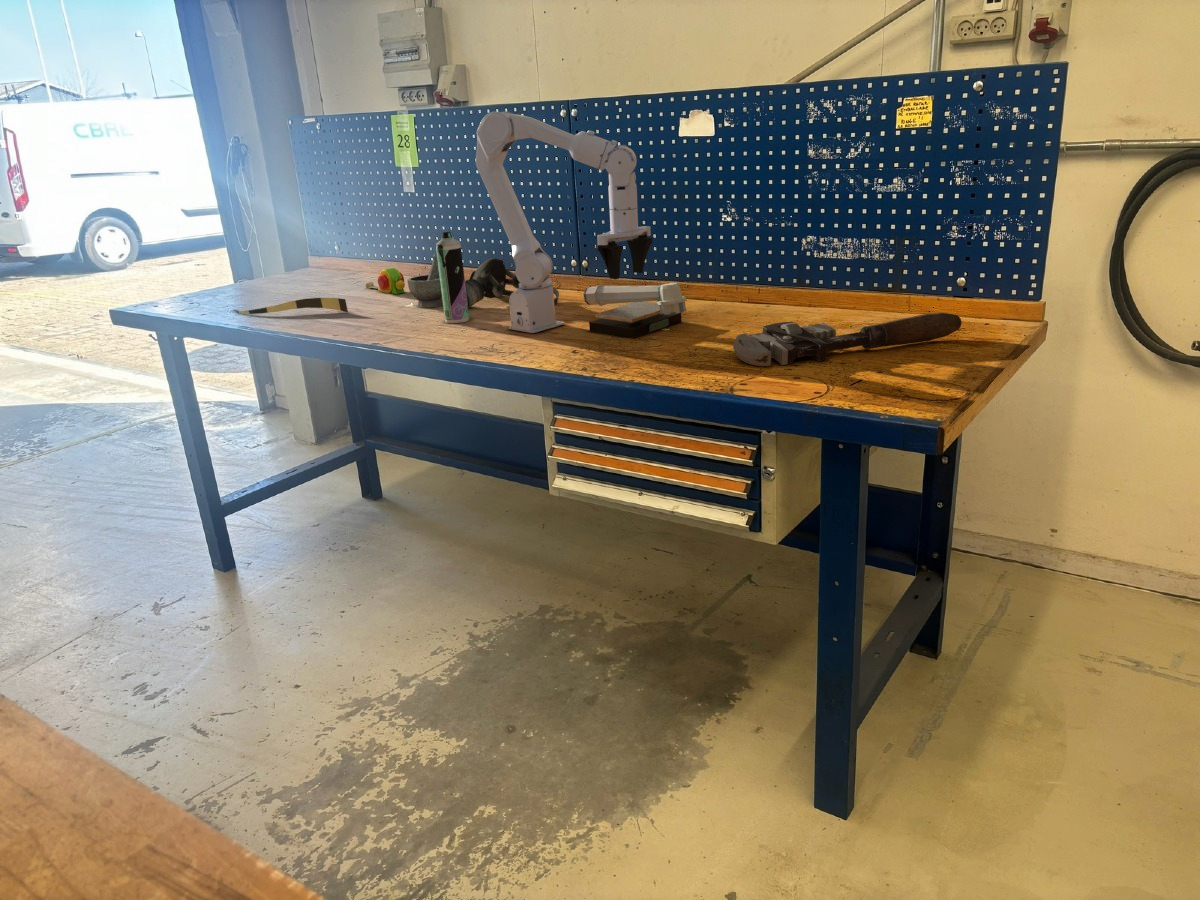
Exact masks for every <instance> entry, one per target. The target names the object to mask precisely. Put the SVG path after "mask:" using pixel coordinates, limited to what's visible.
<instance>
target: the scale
mask: <svg viewBox="0 0 1200 900" xmlns="http://www.w3.org/2000/svg"><path fill="white" fill-rule="evenodd" d="M681 322H682V312H681V313H676V312H671V314H666V315H664V313H663V314H658V315H655V316H652V317H649V318H645V319H642V320H639V321H636V322H633V323H630V322H623V321H616V320H609V319H602V318H597V319H595V320H592V321H589V322H588V325H589V326H588V327H589V332H591V333H598V334H605V335H611V336H617V337H624V338H629V339H634V338H638V337H641V336H645V335H647V334H650V333H653V332H656V331H658V330H662V329H665V328H668V327H670V326H673V325H676V324H679V323H681Z"/></svg>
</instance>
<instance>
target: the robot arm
mask: <svg viewBox="0 0 1200 900" xmlns="http://www.w3.org/2000/svg"><path fill="white" fill-rule="evenodd" d="M595 134H596V132H595V131H593V130H591V129H589V130H587V131H584V130H582V131H579V132H578V133H576V134H572V133H571V132H567V131H565V130H562V129H560V128H558V127H555V126H552V125H550V124H548V123H546V122H543V121H541V120H539V119H536V118H534V117H531V116H527V115H522V114H517V113H516V114H514V113H512V112H511V111H501V112H500V111H491V112H488V113H487V114H485V115H484V116H483V118H482V119H481V121H480V123H479V125H478V127H477V129H476V138H477V142H476V152H475V153H476V154H475V166H476V169H477V171H478V173H479V176H480V178H481V180H482V182H483V184H484V187H485V189H486V191H487V193H488V196H489V198H490V200H491V202H492V205H493V207H494V209H495V212H496V214H497V217H498V219H499V221H500V224H501V225H502V227H503V230H504V232H505V234H506V236H507V239H508V241H509V243H510V246H511V250H512V252H511V253H512V259H513V262H514V264H515V275H516V277H517V279H518V281H519V282H520V283H519V288H517V290H515V291H514V292H513V293H512V294H511V295H510V296H509V300H508V305H509V314H510V315H509V316H510V324H511V326H509V327H508V329H509V330H512V331H517V332H524V333H529V334H530V333H531V334H536V333H539V332H543V331H547V330H549V329H553V328H557V327H559V326H563V325H565V321H560V320H556V308H555V304H554V299H555V296H554V295H555V294H554V293H553V287H554V283H553V281H552V279H551V278H550V275H551V274H552V271H553V269H554V268H553V267H554V263H553V261H552V258H551V257H550V255H549V254H548V253H547V252H545V251H544V249H543V248H542V246H541V244H540V242H539V241H538V240H537V238H536V237H535V236H534V234H533V231H532V228H531V227H530V224H529V222H528V220H527V218H526V214H525V213H524V211H523V207H522V206H521V203H520V202H519V199H518V197H517V194H516V192H515V189H514V188H513V185H512V183H511V181H510V179H509V176H508V174H507V171H506V170H505V167H504V161H505V160H506V157H507V155H508V152H509V150H510V148H512V146H513V145H514V144H515V143H516V142H517V140H525V139H533V140H536V141H540V142H542V143H545V144H547V145H551V146H555V147H558V148H561V149H564V150H566V151H568V152H569V154H570V157H571V158H572V159H573V160H574V161H576V162H579V163H581V164H583V165H587V166H589V167H592V168H595V169H598V170H599V171H604V170H606V171H607V173H608V184H609V185H608V205H609V223H610V224H609V227H610V228H609V229H610V230H609V231H607V232H604V233H602V234H597V235H596V237H597V239H596V240H597V244H596V249H597V251H598V253H599V254H600V256H601V258H602V260H603V262H604V264H605V267H606V270H607V274H608V277H609V280H610V279H611V280H620V275H621V257H622V253H623V249H624V245H618V243H619V242H625V241H626V243H627V244H628V248H629V251H630V258H631V266H632V272H633V273H634V274H643V272H644V267H645V265H646V264H645V263H646V258H647V255H648V253H649V250H650V248H651V246H652V244H653V237H651V235H652V234H651V233H652V232H651V230H652V229H651V226H650V225H649V226H648V225H647V226H646V225H642V226H639V216H638V215H639V214H638V213H639V211H638V186H637V183H636V181H637V175H636V172H635V171H634V170H635V169H636V167H637V162H638V159H637V155H636V154H635V152H634V150H633V149H632V148H630V147H628V146H627V145H626V144H620V145H617V144H618V141H617V140H614V139H612V140H607V139H605V138H602V137H600V136H597V135H595Z"/></svg>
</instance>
